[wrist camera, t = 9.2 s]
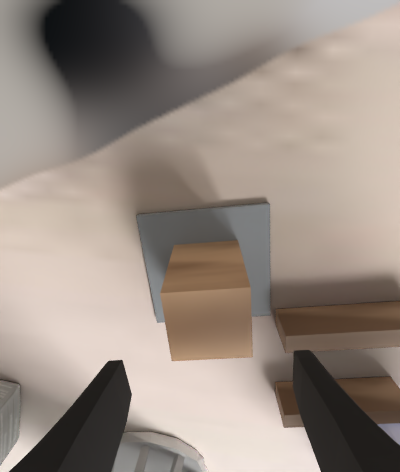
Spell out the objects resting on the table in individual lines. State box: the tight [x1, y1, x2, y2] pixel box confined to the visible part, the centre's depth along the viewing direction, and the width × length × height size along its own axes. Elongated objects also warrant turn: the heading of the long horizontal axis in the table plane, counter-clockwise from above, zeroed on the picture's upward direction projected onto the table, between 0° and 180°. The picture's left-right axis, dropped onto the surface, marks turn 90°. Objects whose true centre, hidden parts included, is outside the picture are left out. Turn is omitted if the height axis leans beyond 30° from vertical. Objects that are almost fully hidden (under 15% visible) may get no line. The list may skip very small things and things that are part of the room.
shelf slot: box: [275, 301, 400, 428], centre depth 21 cm, size 10×10×3 cm
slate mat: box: [136, 203, 270, 323], centre depth 20 cm, size 9×9×1 cm
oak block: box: [160, 240, 253, 361], centre depth 17 cm, size 4×4×6 cm
